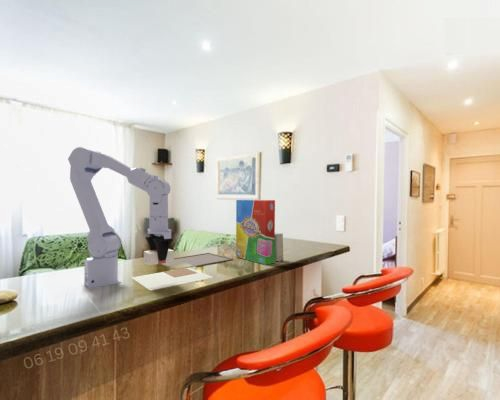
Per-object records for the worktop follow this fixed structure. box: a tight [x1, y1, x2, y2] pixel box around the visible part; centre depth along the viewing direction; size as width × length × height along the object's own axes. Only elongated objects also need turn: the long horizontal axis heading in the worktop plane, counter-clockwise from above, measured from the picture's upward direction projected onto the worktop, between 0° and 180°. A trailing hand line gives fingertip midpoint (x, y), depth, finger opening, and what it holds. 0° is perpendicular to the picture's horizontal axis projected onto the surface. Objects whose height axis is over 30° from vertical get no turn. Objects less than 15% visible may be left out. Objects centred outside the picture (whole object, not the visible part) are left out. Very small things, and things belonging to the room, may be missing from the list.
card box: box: [143, 248, 175, 266], centre depth 91 cm, size 8×5×4 cm, turn 130°
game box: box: [235, 199, 276, 266], centre depth 126 cm, size 21×6×27 cm, turn 41°
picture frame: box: [159, 252, 234, 270], centre depth 124 cm, size 19×1×28 cm
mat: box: [130, 267, 214, 291], centre depth 97 cm, size 22×18×1 cm
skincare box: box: [275, 232, 284, 262], centre depth 126 cm, size 6×4×12 cm
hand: (158, 258), depth 91 cm, fingers closed on card box, 5 cm apart
